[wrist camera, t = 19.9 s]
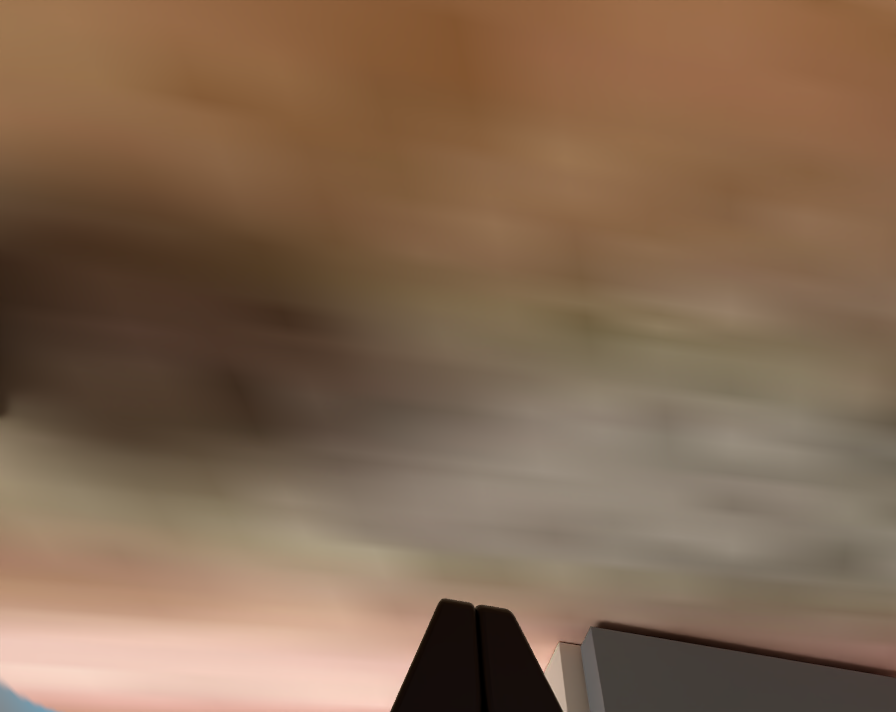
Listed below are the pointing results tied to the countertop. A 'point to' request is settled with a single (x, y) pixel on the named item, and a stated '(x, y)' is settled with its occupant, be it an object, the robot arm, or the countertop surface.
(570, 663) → the caddy housing
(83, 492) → the countertop surface
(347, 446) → the countertop surface
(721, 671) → the tray
